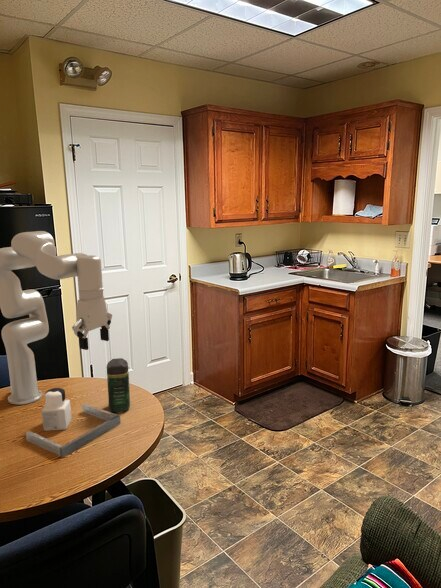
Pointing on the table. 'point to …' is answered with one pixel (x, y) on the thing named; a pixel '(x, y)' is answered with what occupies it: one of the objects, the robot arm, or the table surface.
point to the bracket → (73, 445)
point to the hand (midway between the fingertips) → (94, 344)
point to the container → (56, 410)
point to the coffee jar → (118, 385)
